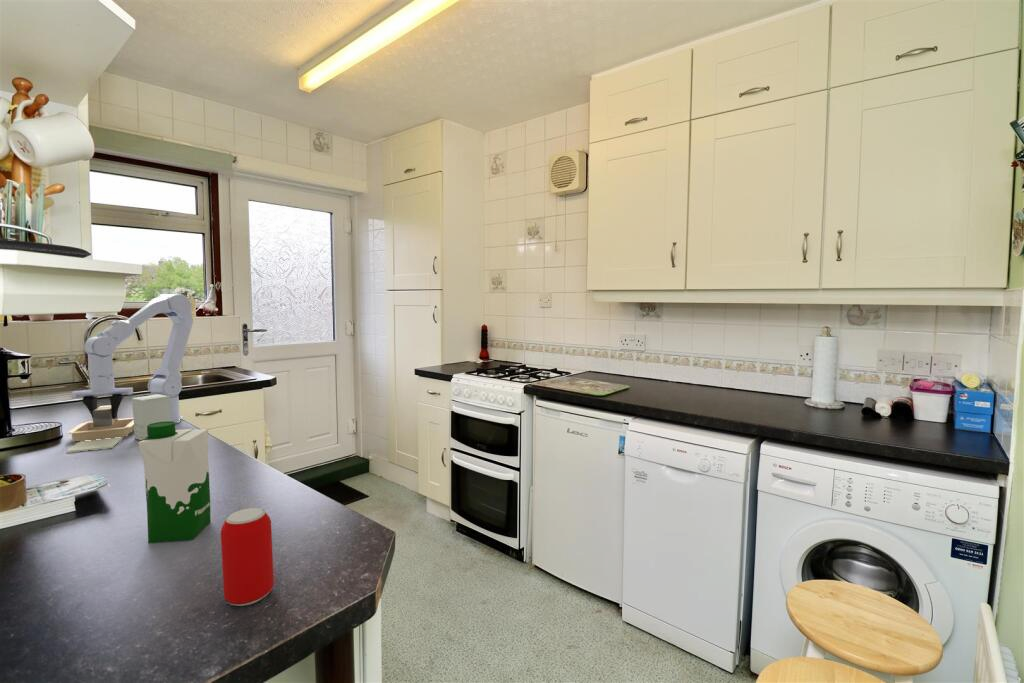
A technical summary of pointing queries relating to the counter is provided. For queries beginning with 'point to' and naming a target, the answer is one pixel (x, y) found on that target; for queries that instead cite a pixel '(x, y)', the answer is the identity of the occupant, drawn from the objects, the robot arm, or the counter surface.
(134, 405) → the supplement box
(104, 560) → the counter surface
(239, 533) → the beverage can
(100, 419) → the block
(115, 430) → the wooden tray
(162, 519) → the milk carton
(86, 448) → the tile
